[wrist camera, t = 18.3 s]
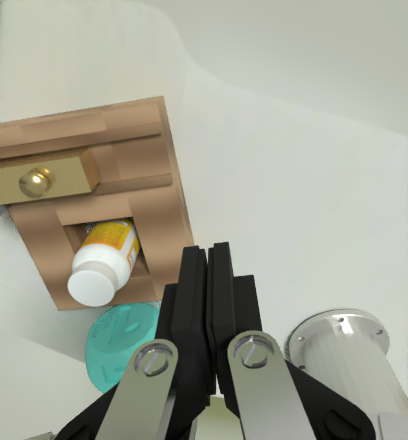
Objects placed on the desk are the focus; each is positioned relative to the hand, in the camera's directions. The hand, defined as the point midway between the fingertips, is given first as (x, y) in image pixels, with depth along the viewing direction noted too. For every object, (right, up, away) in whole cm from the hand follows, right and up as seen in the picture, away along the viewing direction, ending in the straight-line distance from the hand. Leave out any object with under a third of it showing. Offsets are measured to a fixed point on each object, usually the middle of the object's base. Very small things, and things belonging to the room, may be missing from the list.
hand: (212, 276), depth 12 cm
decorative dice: (-9, -11, +31) cm, 34 cm away
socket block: (-10, +3, +23) cm, 25 cm away
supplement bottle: (-10, +1, +24) cm, 26 cm away
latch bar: (-14, +6, +16) cm, 22 cm away
